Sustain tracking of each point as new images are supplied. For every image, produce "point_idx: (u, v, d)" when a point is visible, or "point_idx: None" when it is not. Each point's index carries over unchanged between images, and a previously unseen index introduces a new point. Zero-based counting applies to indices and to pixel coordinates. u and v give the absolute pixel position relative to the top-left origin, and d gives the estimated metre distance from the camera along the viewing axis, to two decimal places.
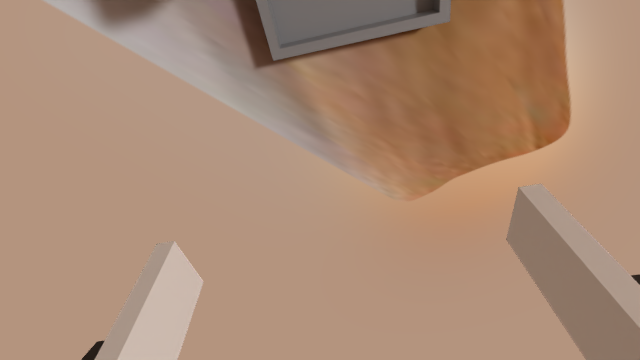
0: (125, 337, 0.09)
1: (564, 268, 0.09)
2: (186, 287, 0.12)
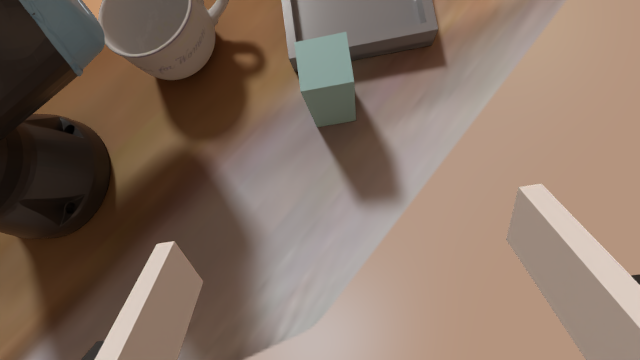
0: (125, 337, 0.09)
1: (564, 268, 0.09)
2: (186, 287, 0.12)
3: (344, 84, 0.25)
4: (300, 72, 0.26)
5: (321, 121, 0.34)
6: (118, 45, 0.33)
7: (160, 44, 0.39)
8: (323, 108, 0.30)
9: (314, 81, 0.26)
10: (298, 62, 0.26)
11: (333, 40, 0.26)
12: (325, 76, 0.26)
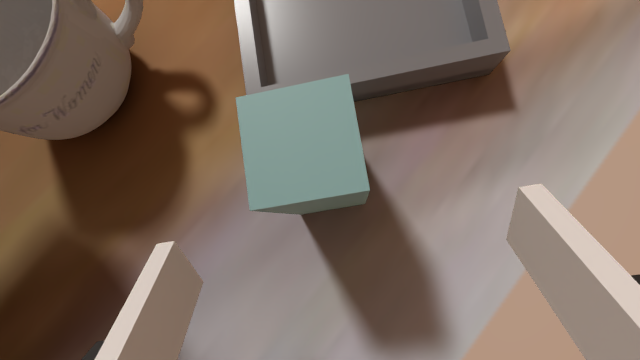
0: (125, 337, 0.09)
1: (564, 267, 0.09)
2: (186, 287, 0.12)
3: (346, 194, 0.11)
4: (249, 166, 0.12)
5: (306, 212, 0.20)
6: None
7: None
8: (306, 208, 0.16)
9: (280, 187, 0.11)
10: (244, 143, 0.12)
11: (320, 93, 0.12)
12: (304, 175, 0.11)
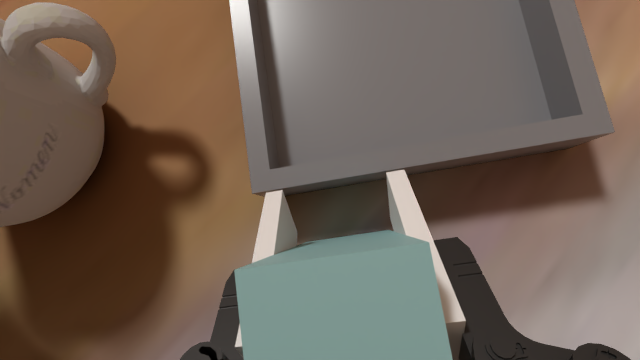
0: None
1: None
2: (291, 233, 0.14)
3: None
4: None
5: None
6: None
7: None
8: None
9: None
10: (249, 355, 0.07)
11: (380, 275, 0.07)
12: None
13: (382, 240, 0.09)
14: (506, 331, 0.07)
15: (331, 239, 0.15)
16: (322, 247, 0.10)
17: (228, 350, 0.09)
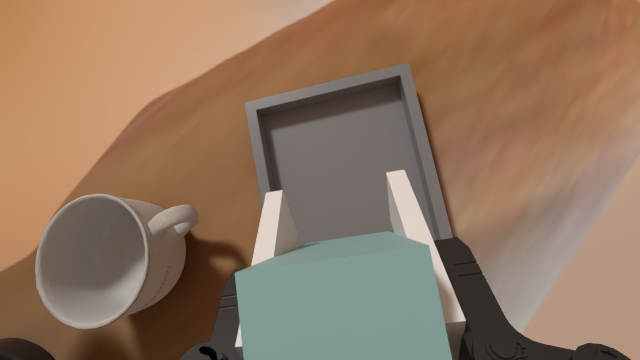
0: None
1: (401, 235, 0.11)
2: (291, 233, 0.14)
3: None
4: None
5: None
6: (64, 290, 0.27)
7: (121, 248, 0.32)
8: None
9: None
10: (249, 358, 0.07)
11: (380, 278, 0.07)
12: None
13: (382, 242, 0.09)
14: (506, 331, 0.07)
15: (331, 240, 0.15)
16: (322, 249, 0.10)
17: (228, 350, 0.09)
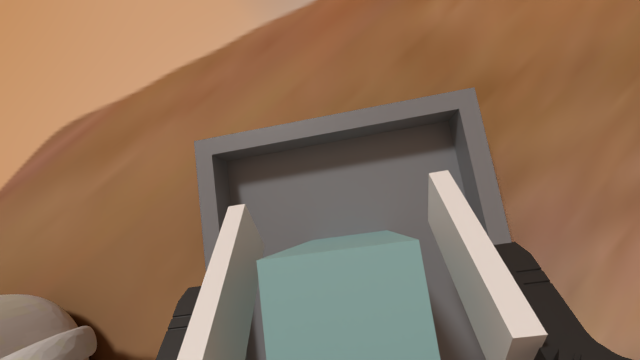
0: (221, 279, 0.10)
1: (452, 239, 0.10)
2: (254, 247, 0.13)
3: None
4: None
5: None
6: None
7: None
8: None
9: None
10: (268, 331, 0.08)
11: (378, 266, 0.08)
12: None
13: (380, 238, 0.11)
14: (599, 348, 0.07)
15: (334, 238, 0.17)
16: (328, 244, 0.12)
17: None
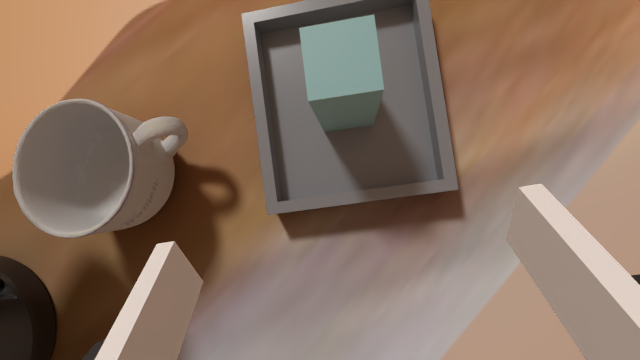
0: (125, 337, 0.09)
1: (564, 268, 0.09)
2: (186, 287, 0.12)
3: (369, 92, 0.18)
4: (307, 73, 0.18)
5: (330, 127, 0.26)
6: (44, 201, 0.26)
7: (107, 168, 0.31)
8: (335, 115, 0.23)
9: (327, 87, 0.18)
10: (305, 58, 0.18)
11: (355, 27, 0.18)
12: (343, 79, 0.18)
13: None
14: None
15: None
16: None
17: None
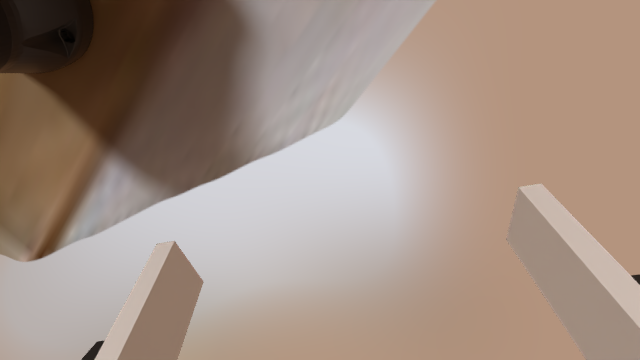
0: (125, 337, 0.09)
1: (564, 267, 0.09)
2: (186, 287, 0.12)
3: None
4: None
5: None
6: None
7: None
8: None
9: None
10: None
11: None
12: None
13: None
14: None
15: None
16: None
17: None
